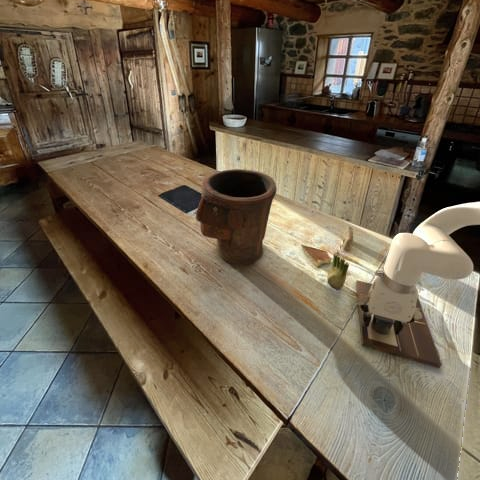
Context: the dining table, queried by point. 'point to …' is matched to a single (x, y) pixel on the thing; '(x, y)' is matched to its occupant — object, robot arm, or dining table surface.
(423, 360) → the game board
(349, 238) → the tan figurine
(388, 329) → the slate stone
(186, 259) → the dining table surface
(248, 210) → the clay pot
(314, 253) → the shard
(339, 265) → the fennel bulb
